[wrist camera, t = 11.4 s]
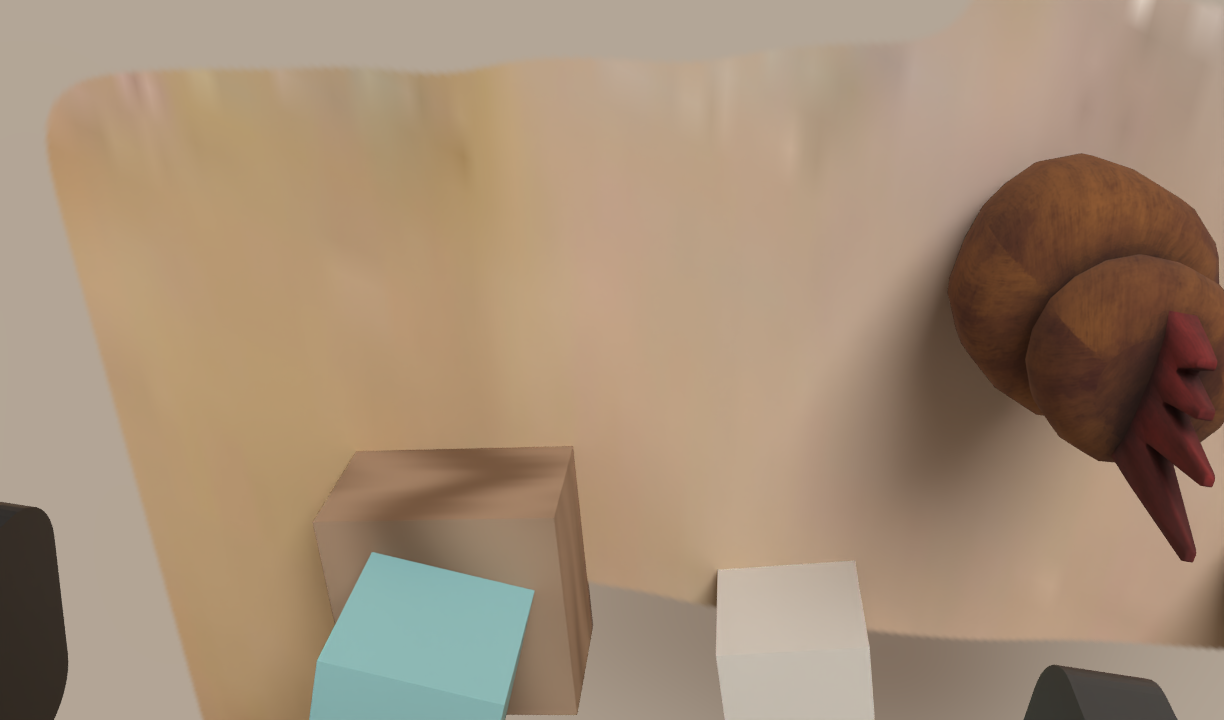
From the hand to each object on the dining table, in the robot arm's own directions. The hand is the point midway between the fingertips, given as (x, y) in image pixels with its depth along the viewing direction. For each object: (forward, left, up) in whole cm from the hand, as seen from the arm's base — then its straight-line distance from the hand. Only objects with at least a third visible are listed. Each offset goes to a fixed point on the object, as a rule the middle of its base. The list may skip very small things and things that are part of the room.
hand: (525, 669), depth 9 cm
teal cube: (+5, +19, -23) cm, 31 cm away
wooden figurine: (-12, +4, -28) cm, 31 cm away
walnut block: (+5, +19, -28) cm, 34 cm away
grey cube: (-7, +20, -28) cm, 35 cm away
